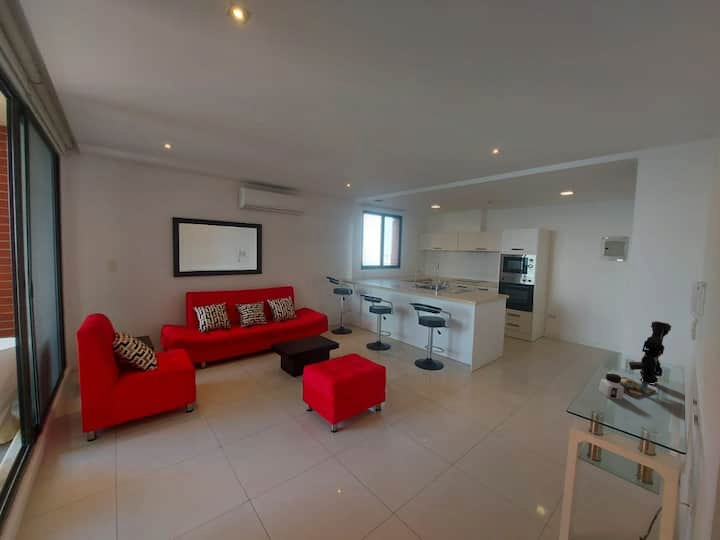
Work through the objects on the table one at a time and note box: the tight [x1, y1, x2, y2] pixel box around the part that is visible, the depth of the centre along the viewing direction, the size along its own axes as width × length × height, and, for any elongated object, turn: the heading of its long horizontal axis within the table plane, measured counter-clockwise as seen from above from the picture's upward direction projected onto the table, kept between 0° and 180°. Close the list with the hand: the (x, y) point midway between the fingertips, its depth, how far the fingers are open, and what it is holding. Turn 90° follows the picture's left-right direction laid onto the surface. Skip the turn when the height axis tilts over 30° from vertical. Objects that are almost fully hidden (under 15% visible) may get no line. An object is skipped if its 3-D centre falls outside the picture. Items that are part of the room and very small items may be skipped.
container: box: [598, 372, 624, 401], centre depth 168 cm, size 8×8×13 cm
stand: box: [620, 376, 657, 399], centre depth 177 cm, size 20×16×6 cm
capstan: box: [621, 378, 649, 394], centre depth 176 cm, size 14×11×6 cm
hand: (644, 385), depth 172 cm, fingers closed
